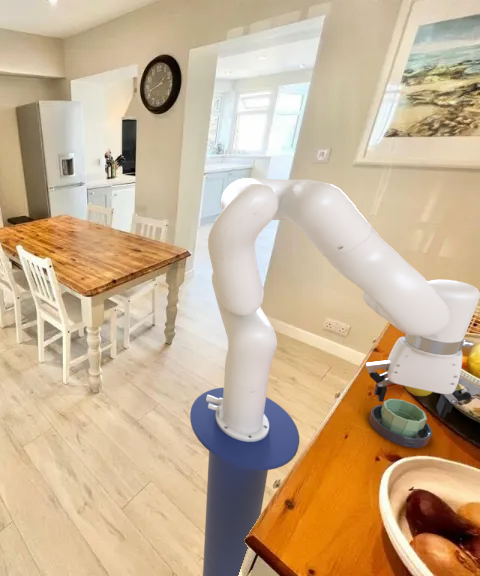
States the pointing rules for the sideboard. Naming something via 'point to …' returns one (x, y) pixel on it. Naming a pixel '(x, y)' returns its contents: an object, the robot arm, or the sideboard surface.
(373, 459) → the sideboard surface
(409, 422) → the top bowl
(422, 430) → the bottom bowl
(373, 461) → the sideboard surface
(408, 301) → the robot arm
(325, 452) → the sideboard surface
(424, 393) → the lemon
